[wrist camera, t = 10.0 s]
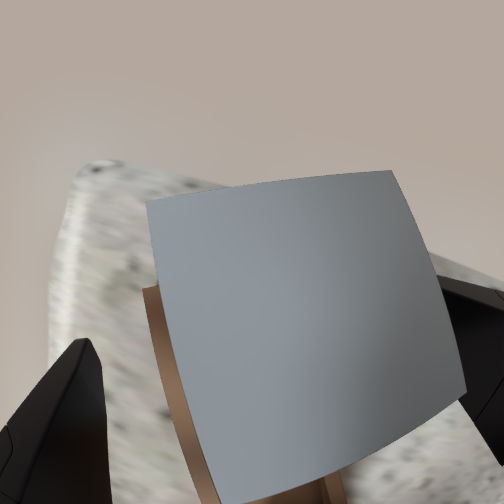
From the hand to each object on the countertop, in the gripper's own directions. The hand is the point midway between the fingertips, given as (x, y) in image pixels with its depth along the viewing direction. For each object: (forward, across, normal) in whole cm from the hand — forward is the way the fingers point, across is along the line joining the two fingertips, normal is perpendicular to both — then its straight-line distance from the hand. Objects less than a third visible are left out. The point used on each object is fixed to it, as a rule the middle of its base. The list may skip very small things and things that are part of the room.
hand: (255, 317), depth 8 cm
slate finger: (+6, 0, +6) cm, 8 cm away
